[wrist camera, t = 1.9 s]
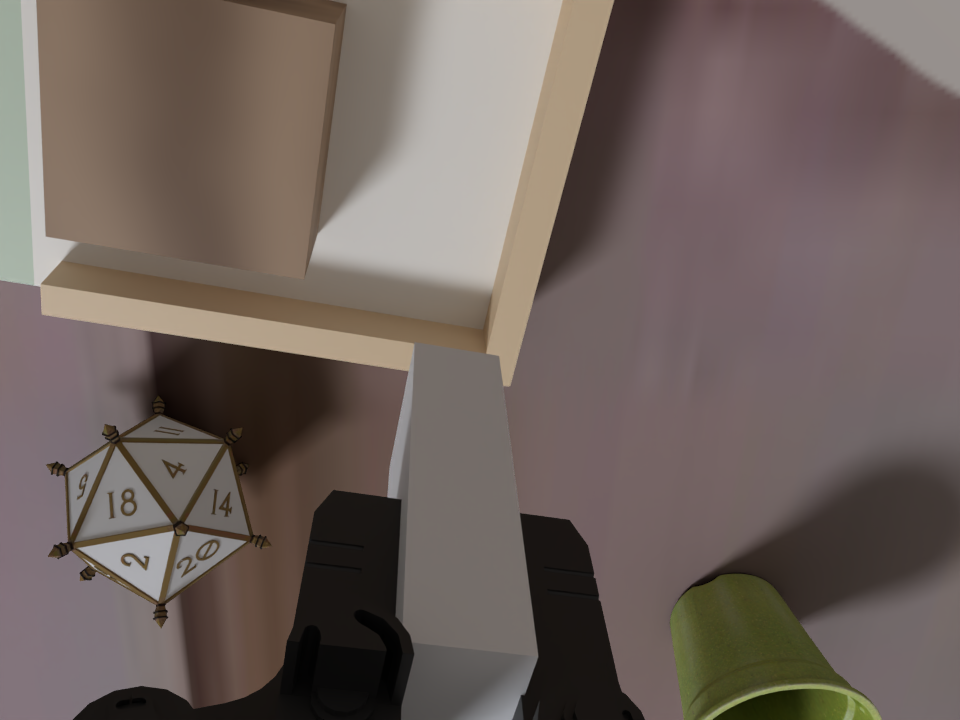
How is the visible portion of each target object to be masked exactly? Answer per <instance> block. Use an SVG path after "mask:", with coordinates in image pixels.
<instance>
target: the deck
mask: <svg viewBox="0 0 960 720" xmlns="http://www.w3.org/2000/svg"><path fill="white" fill-rule="evenodd" d="M331 1H335V2H340V3H345V4H347V7H346V15H345V23H344V31H343V39H342V46H341V54H340V62H339V70H338V78H337V86H336V94H335V102H334V110H333V117H332V125H331V133H330V141H329V149H328V157H327V165H326V173H325V180H324V188H323V196H322V204H321V212H320V220H319V228H318V235H317V238H316V241H315V245H314V248H313V251H312V255H311V258H310V262H309V265H308V268H307V272H306V275H305V279H304V280H302V279H296V278H290V277H284V276H278V275H272V274H266V273H260V272H254V271H248V270H242V269H236V268H230V267H224V266H219V265H213V264H207V263H201V262H195V261H189V260H183V259H177V258H171V257H165V256H159V255H153V254H147V253H141V252H135V251H129V250H123V249H117V248H111V247H105V246H99V245H93V244H87V243H81V242H75V241H69V240H63V239H57V238H51V237H46V234H45V208H44V183H43V158H42V133H41V108H40V83H39V57H38V32H37V7H36V0H0V280H3V281H9V282H15V283H21V284H28V285H34V286H40V287H41V308H42V315H48V316H55V317H61V318H67V319H74V320H80V321H87V322H93V323H100V324H106V325H113V326H119V327H126V328H132V329H139V330H145V331H152V332H158V333H165V334H171V335H178V336H184V337H191V338H197V339H204V340H210V341H217V342H223V343H230V344H236V345H243V346H249V347H256V348H262V349H269V350H275V351H282V352H288V353H295V354H301V355H308V356H314V357H321V358H327V359H334V360H340V361H346V362H353V363H359V364H366V365H372V366H379V367H385V368H392V369H398V370H405V371H409V368H410V363H411V358H412V353H413V348H414V343H415V342H417V343H424V344H430V345H436V346H442V347H448V348H454V349H460V350H467V351H473V352H479V353H485V354H491V355H497V356H499V358H500V366H501V374H502V381H503V386H509V387H510V384H511V381H512V377H513V373H514V370H515V366H516V362H517V358H518V355H519V351H520V347H521V344H522V340H523V336H524V333H525V329H526V325H527V321H528V318H529V314H530V310H531V307H532V303H533V299H534V295H535V292H536V288H537V284H538V281H539V277H540V273H541V270H542V266H543V262H544V258H545V255H546V251H547V247H548V244H549V240H550V236H551V232H552V229H553V225H554V221H555V218H556V214H557V210H558V207H559V203H560V199H561V195H562V192H563V188H564V184H565V181H566V177H567V173H568V169H569V166H570V162H571V158H572V155H573V151H574V147H575V143H576V140H577V136H578V132H579V129H580V125H581V121H582V118H583V114H584V110H585V106H586V103H587V99H588V95H589V92H590V88H591V84H592V80H593V77H594V73H595V69H596V66H597V62H598V58H599V55H600V51H601V47H602V43H603V40H604V36H605V32H606V29H607V25H608V21H609V17H610V14H611V10H612V6H613V3H614V0H331Z"/></svg>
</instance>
